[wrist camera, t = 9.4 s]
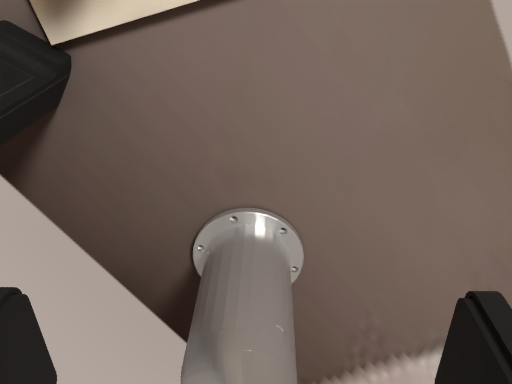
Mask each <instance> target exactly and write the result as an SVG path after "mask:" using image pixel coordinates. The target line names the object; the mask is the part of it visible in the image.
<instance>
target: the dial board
mask: <svg viewBox="0 0 512 384" xmlns="http://www.w3.org/2000/svg"><path fill="white" fill-rule="evenodd" d="M195 1H198V0H30V2H31V4H32V6H33V9H34V11H35V13H36V15H37V17H38V19H39V21H40V23H41V25H42V27H43V29H44V31H45V33H46V35H47V37H48V39H49V41H50V43H51V45H54V44H58V43H61V42H64V41H67V40H71V39H74V38H77V37H80V36H84V35H87V34H90V33H94V32H97V31H100V30H103V29H107V28H110V27H113V26H116V25H120V24H123V23H126V22H129V21H133V20H136V19H139V18H143V17H146V16H149V15H152V14H156V13H159V12H162V11H165V10H169V9H172V8H175V7H179V6H182V5H185V4H188V3H192V2H195Z"/></svg>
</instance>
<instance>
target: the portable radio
mask: <svg viewBox="0 0 512 384" xmlns="http://www.w3.org/2000/svg"><path fill="white" fill-rule="evenodd" d="M70 70H71V56H70V55H69V54H67V53H66V52H64V51H62V50H60V49H58V48H56V47H55V46H53V45H51V44H49V43H47V42H45V41H44V40H42V39H40V38H38V37H36V36H34V35H33V34H31V33H29V32H27V31H25V30H23V29H22V28H20V27H18V26H16V25H14V24H12V23H11V22H8V21H5V20H4V21H0V146H1V145H3V144H4V143H6V142H7V141H9V140H10V139H11V138H13V137H14V136H16V135H17V134H18V133H20V132H21V131H23V130H24V129H25V128H27V127H28V126H30V125H31V124H33V123H34V122H35V121H37V120H38V119H40V118H41V117H43V116H44V115H46V114H47V113H49V112H51V111H52V110H54V109H55V108H56V107H57V106H58V104H59V102H60V99H61V97H62V94H63V91H64V89H65V86H66V83H67V81H68V78H69V75H70Z"/></svg>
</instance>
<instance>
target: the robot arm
mask: <svg viewBox="0 0 512 384" xmlns="http://www.w3.org/2000/svg"><path fill="white" fill-rule="evenodd" d="M233 216H235V217H233ZM303 259H304V254H303V246H302V242H301V239H300V237H299V235H298V233H297V232H296V230H295V229H294V228H293V227H292V226H291V224H289V223H288V222H287V221H286V220H284V219H283V218H282V217H280V216H278V215H276V214H274V213H272V212H269V211H266V210H263V209H256V208H237V209H232V210H228V211H225V212H222V213H220V214H218V215H216V216H214V217H213V218H211V219H210V220H209V221H208V222H207V223H205V224H204V225H203V227H202V228H201V229H200V231H199V232H198V235H197V237H196V239H195V243H194V247H193V260H194V265H195V268H196V270H197V272H198V274H199V275H200V276H201V280H200V285H199V290H198V295H197V299H196V304H195V309H194V313H193V318H192V323H191V327H190V332H189V337H188V341H187V347H186V351H185V356H184V361H183V366H182V371H181V384H297V374H296V355H295V337H294V320H293V302H292V283H293V282H294V281H295V280H296V279H297V277H298V275H299V274H300V272H301V269H302V266H303ZM56 382H57V374H56V371H55V368H54V366H53V363H52V360H51V357H50V355H49V352H48V350H47V347H46V344H45V341H44V338H43V336H42V333H41V330H40V327H39V325H38V322H37V319H36V317H35V314H34V311H33V308H32V306H31V303H30V301H29V298H28V296H27V295H25V294H22V292H21V291H20V289H18V288H15V287H0V384H56ZM435 384H512V309H511V307H510V306H509V304H508V303H507V301H506V300H505V298H504V297H503V296H502V294H501V293H499V292H497V291H469V292H468V293H467V294H466V296H465V298H459V299H458V301H457V304H456V307H455V311H454V314H453V318H452V321H451V325H450V328H449V332H448V336H447V339H446V343H445V346H444V350H443V353H442V357H441V360H440V364H439V367H438V371H437V375H436V378H435Z"/></svg>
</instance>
